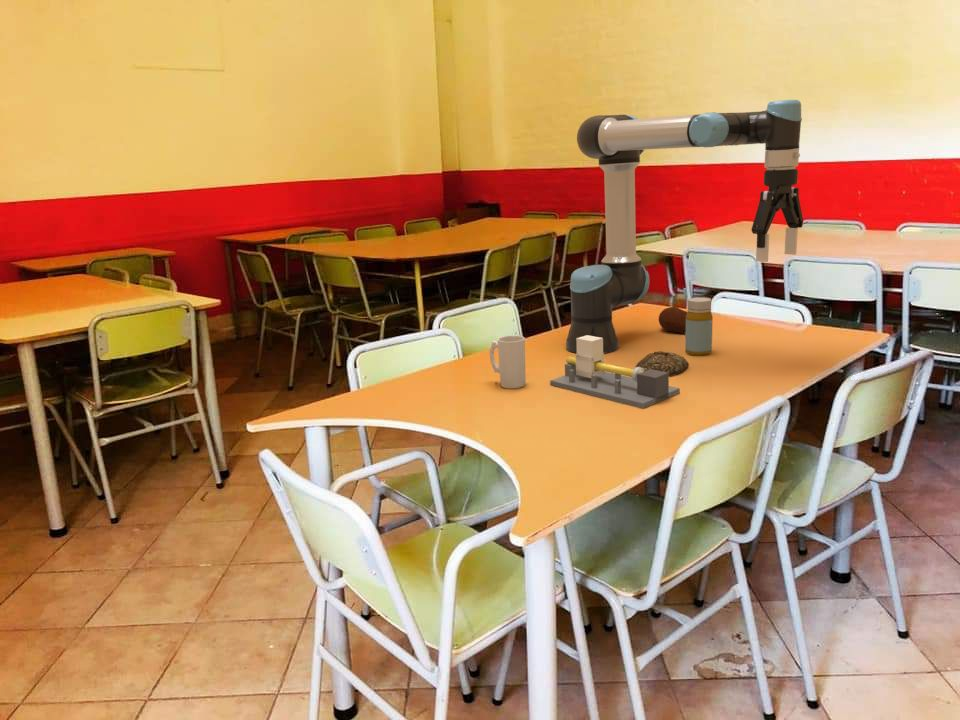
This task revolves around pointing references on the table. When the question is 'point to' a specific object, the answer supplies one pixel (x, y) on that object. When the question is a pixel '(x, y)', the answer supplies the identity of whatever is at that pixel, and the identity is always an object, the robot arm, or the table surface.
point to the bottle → (699, 326)
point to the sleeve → (589, 355)
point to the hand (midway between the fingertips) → (776, 257)
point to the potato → (673, 319)
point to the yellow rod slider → (619, 384)
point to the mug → (510, 361)
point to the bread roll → (664, 362)
